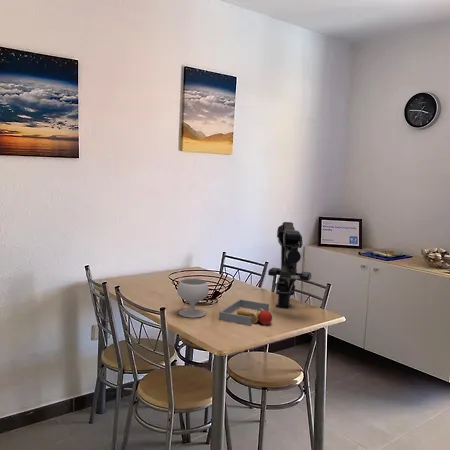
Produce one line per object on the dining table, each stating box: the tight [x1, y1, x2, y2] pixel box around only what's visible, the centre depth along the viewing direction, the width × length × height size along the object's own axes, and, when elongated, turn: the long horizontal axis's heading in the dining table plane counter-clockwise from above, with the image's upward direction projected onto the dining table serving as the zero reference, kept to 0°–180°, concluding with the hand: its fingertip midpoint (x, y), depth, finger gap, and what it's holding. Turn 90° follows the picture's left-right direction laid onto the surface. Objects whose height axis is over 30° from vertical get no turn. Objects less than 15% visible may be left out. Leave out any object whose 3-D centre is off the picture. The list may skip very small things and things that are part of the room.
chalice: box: [176, 277, 210, 319], centre depth 207 cm, size 14×14×15 cm
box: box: [218, 298, 270, 327], centre depth 209 cm, size 24×15×4 cm, turn 156°
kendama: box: [236, 308, 273, 326], centre depth 203 cm, size 8×6×18 cm
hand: (288, 292), depth 210 cm, fingers closed
